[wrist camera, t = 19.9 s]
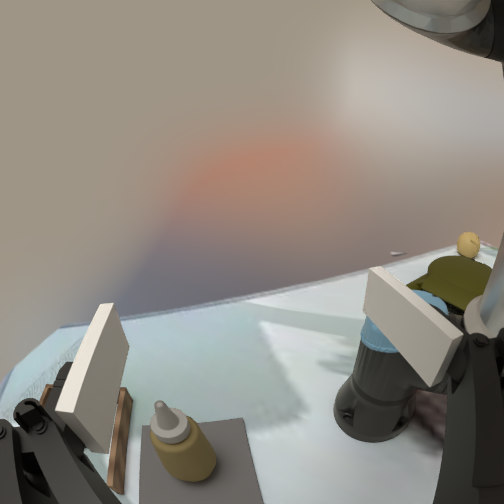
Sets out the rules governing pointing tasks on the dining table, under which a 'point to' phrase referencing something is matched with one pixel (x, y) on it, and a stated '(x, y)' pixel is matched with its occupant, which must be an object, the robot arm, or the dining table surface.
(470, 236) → the tan round lump
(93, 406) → the robot arm
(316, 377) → the dining table surface
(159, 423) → the squeeze bottle
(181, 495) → the charcoal mat
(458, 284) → the green turtle
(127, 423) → the walnut open frame
